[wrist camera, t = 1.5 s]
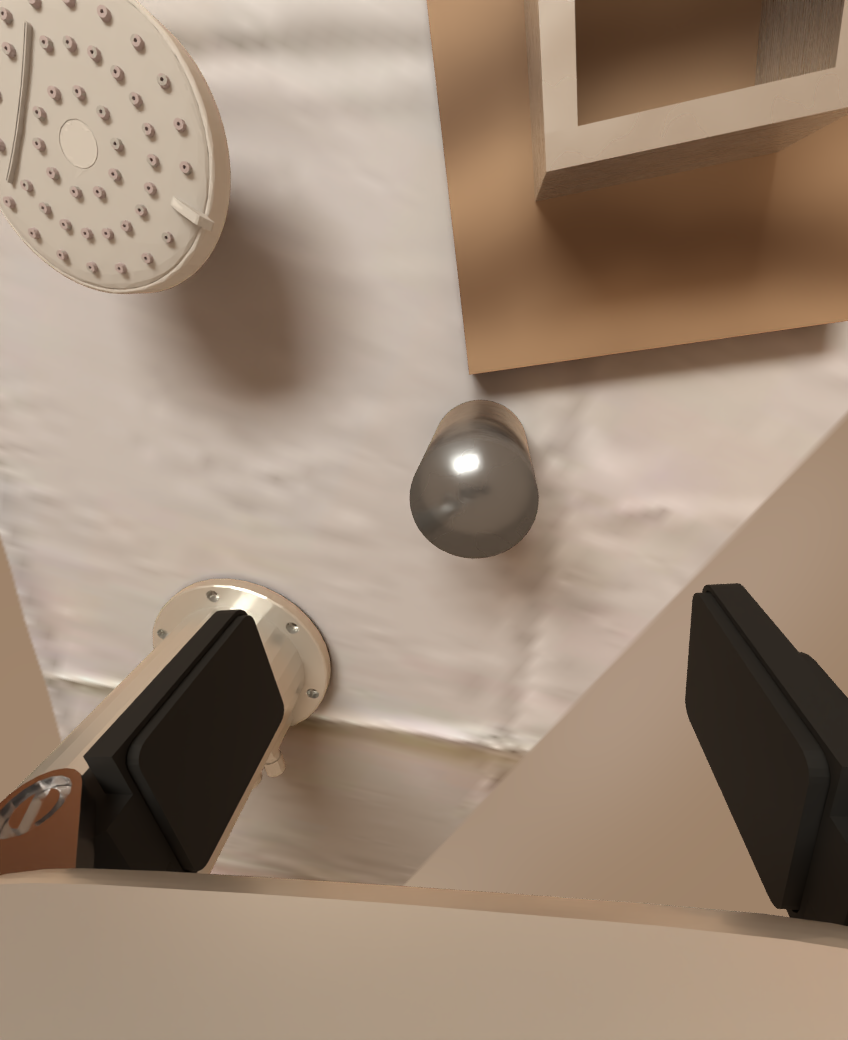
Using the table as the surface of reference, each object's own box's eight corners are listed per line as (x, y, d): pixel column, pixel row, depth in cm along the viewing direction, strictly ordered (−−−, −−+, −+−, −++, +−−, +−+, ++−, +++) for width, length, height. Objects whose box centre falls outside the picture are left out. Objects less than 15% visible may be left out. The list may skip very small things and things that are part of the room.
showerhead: (170, 349, 19) (-76, 207, 18) (255, 337, 25) (78, 233, 24) (252, 68, 15) (-59, -133, 14) (327, 140, 21) (119, 7, 21)
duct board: (828, 319, 22) (952, 325, 16) (470, 370, 25) (462, 391, 19) (945, -427, 14) (1275, -963, 8) (404, -220, 17) (354, -501, 11)
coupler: (529, 485, 27) (542, 553, 19) (440, 494, 28) (420, 562, 20) (523, 393, 25) (534, 431, 17) (427, 406, 26) (399, 447, 18)
